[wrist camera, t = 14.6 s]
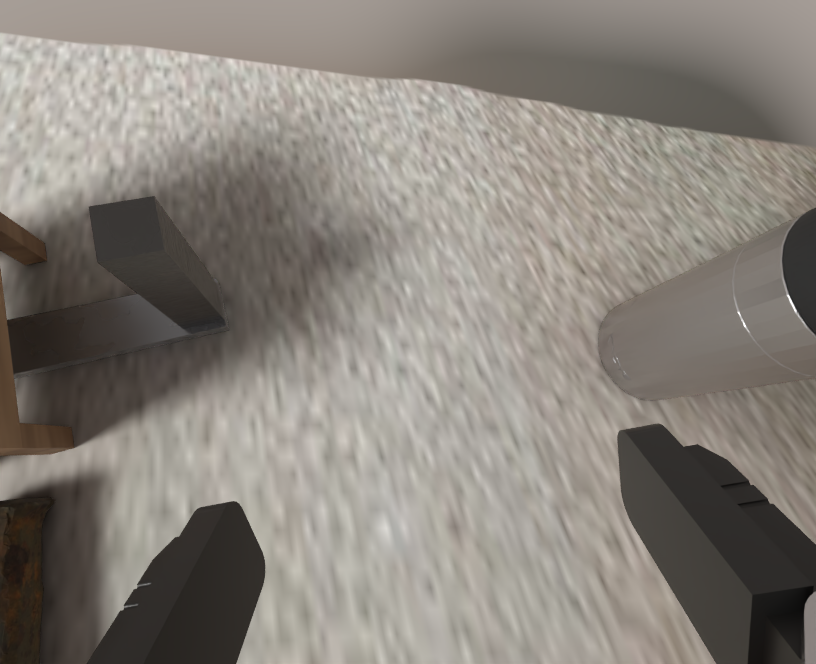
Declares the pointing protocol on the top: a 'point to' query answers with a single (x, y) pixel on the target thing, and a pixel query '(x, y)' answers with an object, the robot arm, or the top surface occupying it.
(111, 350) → the grey l-shaped bracket
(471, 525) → the top surface
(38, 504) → the hand tool
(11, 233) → the walnut cabinet
